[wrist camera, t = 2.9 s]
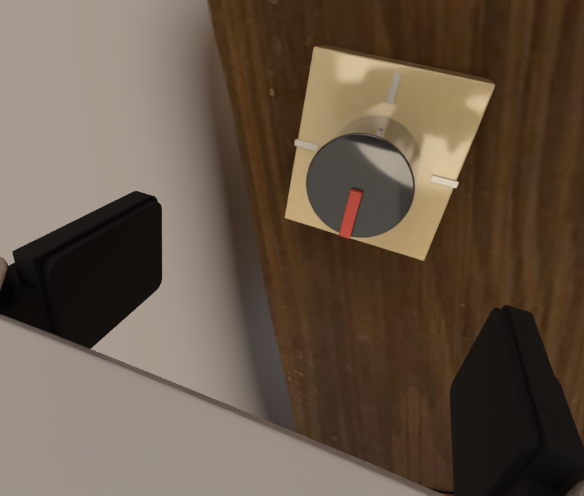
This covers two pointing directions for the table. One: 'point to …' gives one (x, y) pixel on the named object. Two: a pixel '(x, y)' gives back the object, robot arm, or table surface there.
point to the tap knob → (364, 177)
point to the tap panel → (404, 109)
